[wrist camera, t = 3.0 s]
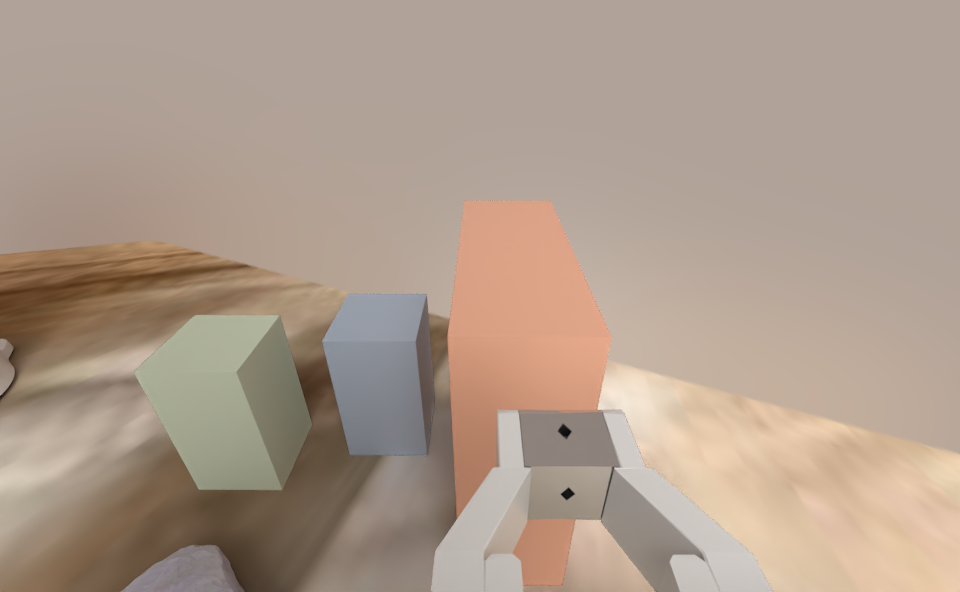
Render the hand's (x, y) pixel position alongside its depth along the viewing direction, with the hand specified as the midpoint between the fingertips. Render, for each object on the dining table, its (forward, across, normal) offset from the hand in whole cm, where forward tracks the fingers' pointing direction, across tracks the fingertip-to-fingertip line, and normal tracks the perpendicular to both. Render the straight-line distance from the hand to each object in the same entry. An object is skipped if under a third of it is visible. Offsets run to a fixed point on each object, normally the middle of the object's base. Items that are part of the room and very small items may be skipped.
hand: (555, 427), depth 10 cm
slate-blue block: (+17, +9, +19) cm, 27 cm away
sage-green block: (+14, +19, +19) cm, 31 cm away
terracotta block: (+13, 0, +19) cm, 23 cm away
